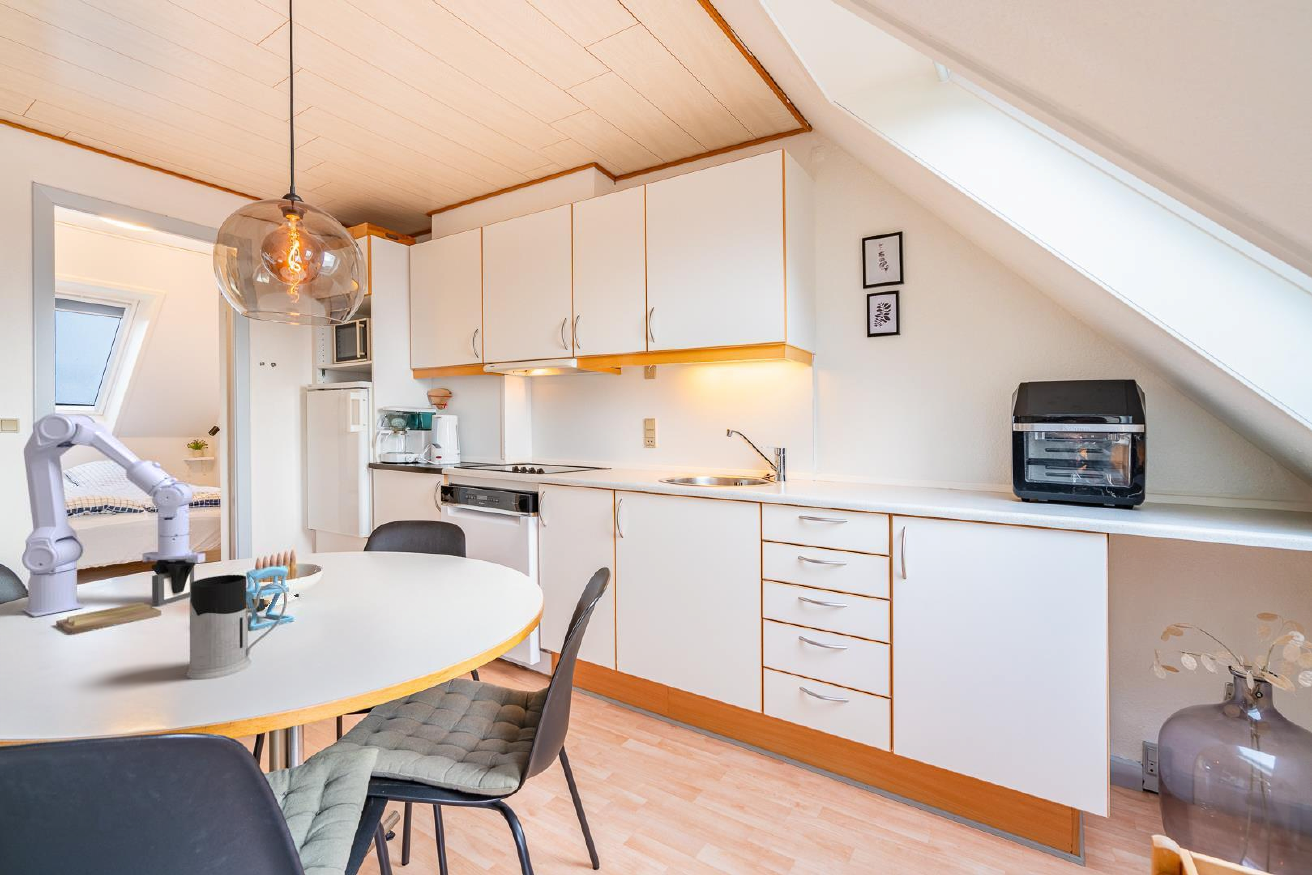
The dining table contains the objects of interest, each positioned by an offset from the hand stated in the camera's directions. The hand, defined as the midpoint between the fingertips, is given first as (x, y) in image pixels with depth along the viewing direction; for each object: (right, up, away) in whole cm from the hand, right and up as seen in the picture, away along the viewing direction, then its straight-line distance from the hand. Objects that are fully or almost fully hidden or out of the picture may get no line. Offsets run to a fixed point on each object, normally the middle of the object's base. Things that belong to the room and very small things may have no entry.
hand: (174, 592), depth 136 cm
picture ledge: (-2, -2, -14) cm, 14 cm away
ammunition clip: (+26, -2, -3) cm, 27 cm away
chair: (+32, -3, -15) cm, 35 cm away
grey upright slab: (0, -2, 0) cm, 2 cm away
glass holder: (+43, -3, -38) cm, 57 cm away
